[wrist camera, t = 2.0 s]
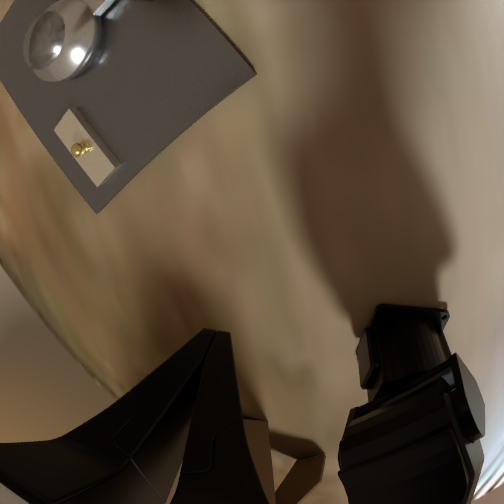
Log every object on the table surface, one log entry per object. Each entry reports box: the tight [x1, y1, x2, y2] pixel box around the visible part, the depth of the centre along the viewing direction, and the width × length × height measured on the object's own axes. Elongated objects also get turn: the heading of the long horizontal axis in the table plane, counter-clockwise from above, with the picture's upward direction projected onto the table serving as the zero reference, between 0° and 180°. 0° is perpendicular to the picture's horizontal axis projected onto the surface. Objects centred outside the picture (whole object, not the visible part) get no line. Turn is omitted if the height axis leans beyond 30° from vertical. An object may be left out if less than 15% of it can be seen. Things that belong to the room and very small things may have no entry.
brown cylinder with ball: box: [23, 0, 115, 82], centre depth 9 cm, size 6×11×12 cm, turn 127°
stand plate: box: [0, 0, 257, 214], centre depth 15 cm, size 20×15×2 cm
